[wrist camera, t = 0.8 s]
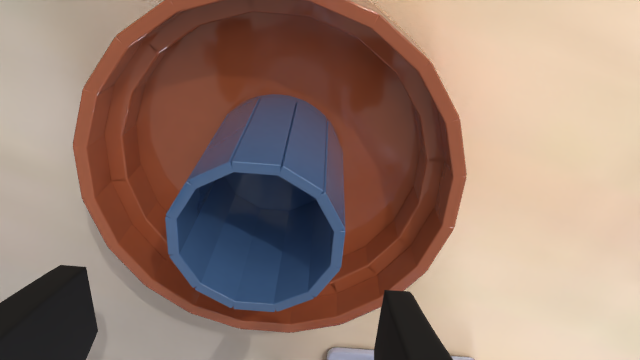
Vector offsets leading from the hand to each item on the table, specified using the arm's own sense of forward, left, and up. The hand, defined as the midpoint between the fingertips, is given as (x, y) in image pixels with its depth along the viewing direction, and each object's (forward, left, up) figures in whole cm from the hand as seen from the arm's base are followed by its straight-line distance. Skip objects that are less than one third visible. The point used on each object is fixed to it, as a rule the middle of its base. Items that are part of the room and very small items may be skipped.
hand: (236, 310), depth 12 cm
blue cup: (0, 0, -9) cm, 9 cm away
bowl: (0, 0, -10) cm, 10 cm away
